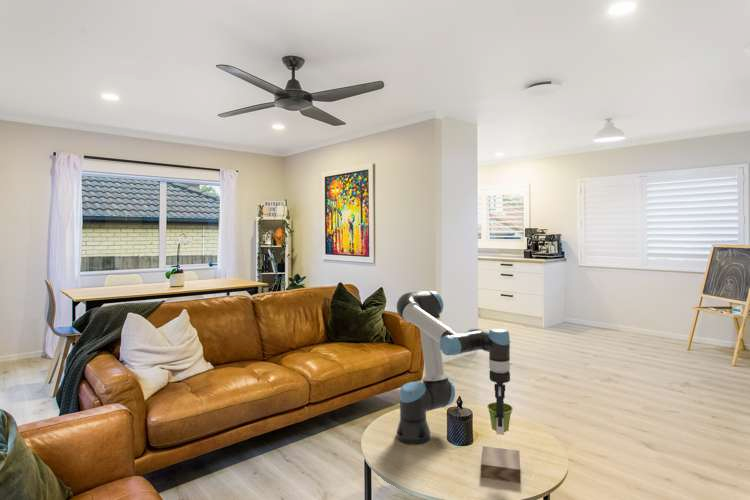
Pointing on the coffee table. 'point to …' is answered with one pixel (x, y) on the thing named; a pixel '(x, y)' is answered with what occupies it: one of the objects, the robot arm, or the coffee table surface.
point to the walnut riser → (500, 464)
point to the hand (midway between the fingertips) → (500, 428)
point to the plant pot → (506, 413)
